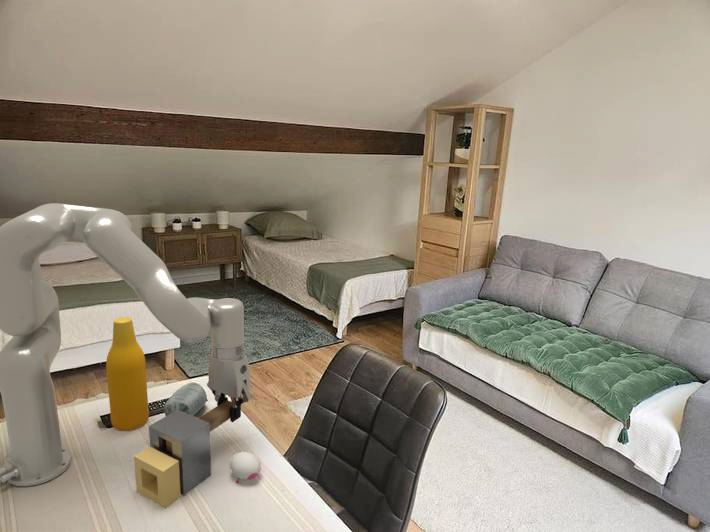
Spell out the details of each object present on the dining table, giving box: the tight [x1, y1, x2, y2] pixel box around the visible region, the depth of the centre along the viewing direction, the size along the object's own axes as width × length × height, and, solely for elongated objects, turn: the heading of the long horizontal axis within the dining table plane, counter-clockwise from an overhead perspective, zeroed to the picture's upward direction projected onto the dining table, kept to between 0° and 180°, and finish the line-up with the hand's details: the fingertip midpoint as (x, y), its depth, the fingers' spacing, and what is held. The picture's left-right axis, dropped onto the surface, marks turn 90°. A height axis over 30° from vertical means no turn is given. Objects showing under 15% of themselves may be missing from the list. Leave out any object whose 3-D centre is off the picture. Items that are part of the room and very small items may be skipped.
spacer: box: [133, 446, 181, 509], centre depth 104 cm, size 4×9×9 cm, turn 61°
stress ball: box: [229, 451, 262, 484], centre depth 112 cm, size 8×8×7 cm
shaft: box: [166, 399, 232, 453], centre depth 114 cm, size 19×3×3 cm, turn 151°
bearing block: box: [148, 410, 212, 497], centre depth 109 cm, size 8×10×14 cm
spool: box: [163, 382, 208, 417], centre depth 133 cm, size 14×10×10 cm
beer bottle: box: [105, 316, 150, 432], centre depth 126 cm, size 9×9×29 cm
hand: (229, 416), depth 122 cm, fingers open, 3 cm apart
